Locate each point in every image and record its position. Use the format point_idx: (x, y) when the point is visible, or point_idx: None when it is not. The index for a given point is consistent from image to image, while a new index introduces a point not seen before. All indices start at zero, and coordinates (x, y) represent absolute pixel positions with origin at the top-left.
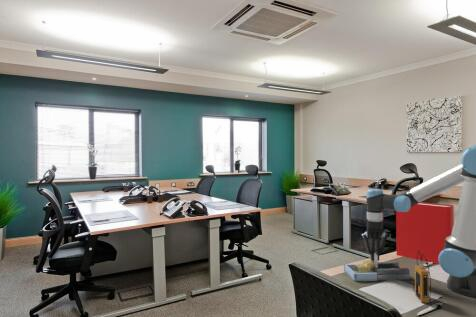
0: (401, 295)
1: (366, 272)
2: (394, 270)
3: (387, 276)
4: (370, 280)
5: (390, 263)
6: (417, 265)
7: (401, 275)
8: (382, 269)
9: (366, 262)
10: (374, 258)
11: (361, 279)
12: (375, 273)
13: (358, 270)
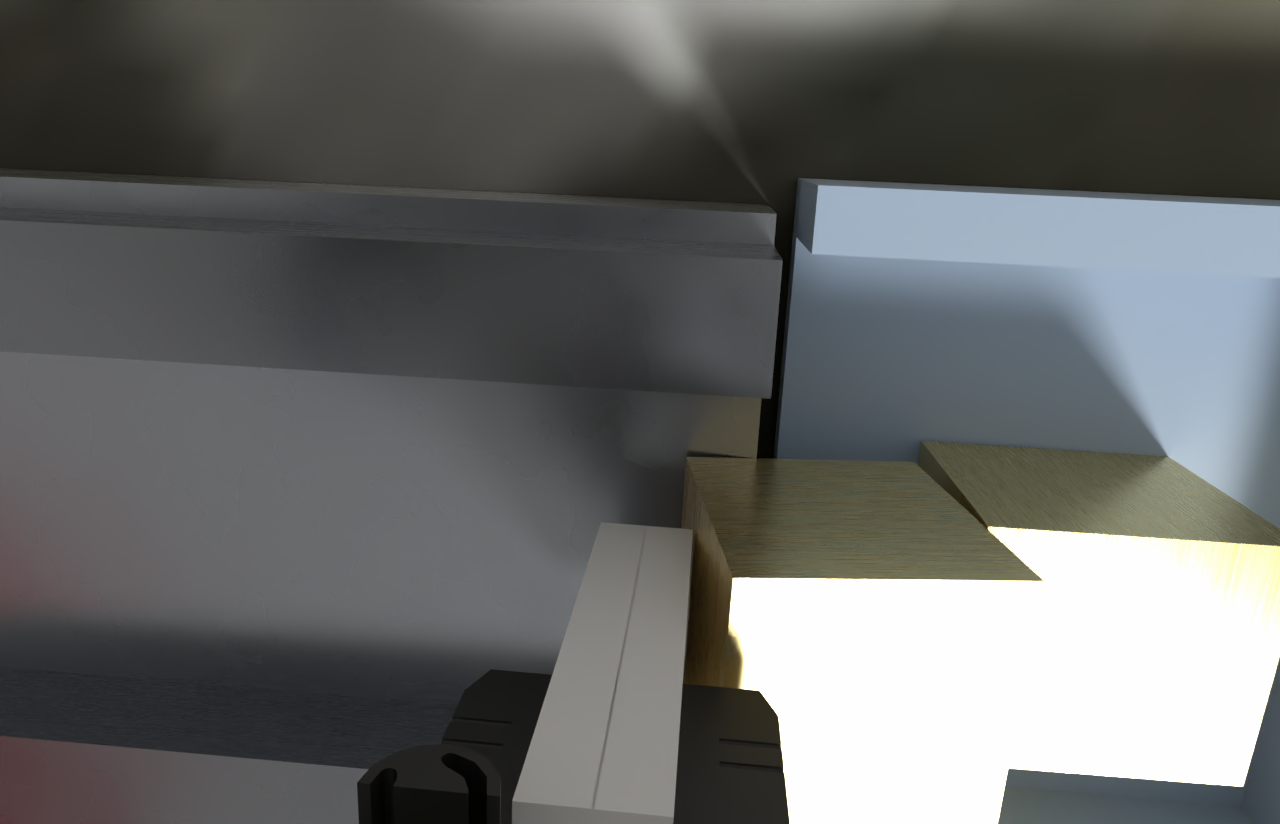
0: None
1: (963, 467)
2: (198, 231)
3: (491, 195)
4: (983, 187)
5: (80, 739)
6: None
7: (94, 178)
8: (557, 316)
9: (970, 691)
10: (679, 722)
11: (1257, 199)
12: (872, 190)
13: (1243, 507)
